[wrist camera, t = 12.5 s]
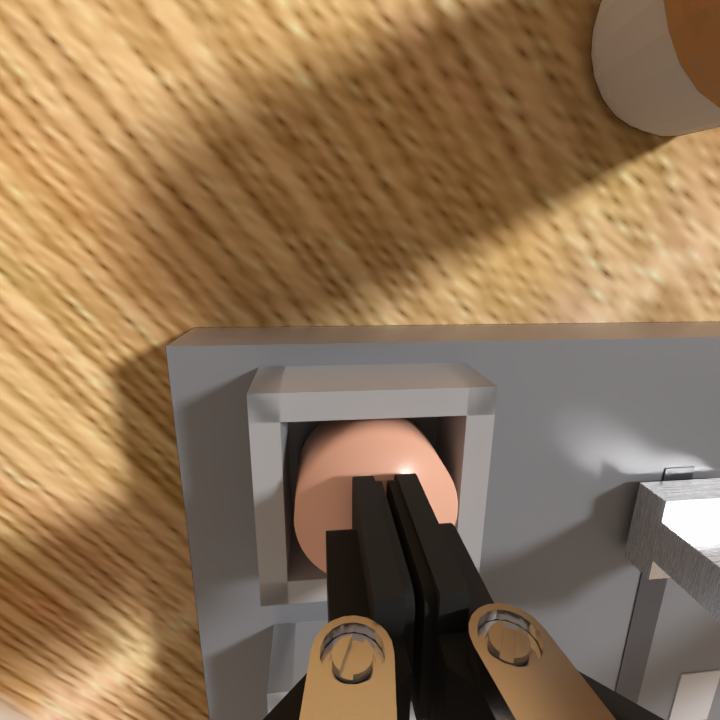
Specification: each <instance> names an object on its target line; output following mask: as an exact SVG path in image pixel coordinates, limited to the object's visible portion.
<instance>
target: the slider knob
mask: <svg viewBox="0 0 720 720" xmlns="http://www.w3.org/2000/svg"><path fill="white" fill-rule="evenodd" d="M624 556H625V557H626V558H627V559H628V560H629V561H630V562H631V563H632V564H633V565H634V566H635V567H636V568H637V569H638V570H639V571H640V572H641V573H642V574H643V575H644V576H645V577H646V578H647V579H648V580H651V579H662V578H672V579H673V580H674V581H675V582H676V583H677V584H678V585H680V586H681V587H682V588H683V589H684V590H685V591H686V592H687V593H688V594H689V595H690V596H691V597H693V598H694V599H695V600H696V601H697V602H698V603H699V604H700V605H701V606H702V607H703V608H705V609H706V610H707V611H708V612H709V613H710V614H711V615H712V616H713V617H714V618H715V619H717V620H718V621H719V622H720V478H710V479H693V480H676V481H658V482H641V483H639V488H638V493H637V497H636V502H635V507H634V512H633V517H632V521H631V526H630V531H629V536H628V541H627V545H626V550H625V555H624Z"/></svg>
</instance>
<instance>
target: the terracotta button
mask: <svg viewBox="0 0 720 720" xmlns="http://www.w3.org/2000/svg"><path fill="white" fill-rule="evenodd" d="M413 473H415V474H416V475H417V477H418V479H419V481H420V483H421V485H422V487H423V490H424V492H425V494H426V496H427V498H428V501H429V503H430V505H431V507H432V509H433V512H434V514H435V516H436V518H437V520H438V523H439V524H440V523H452V524H453V525H454V526H455V524H456V520H457V514H458V499H457V492H456V489H455V486H454V483H453V481H452V479H451V477H450V475H449V473H448V471H447V470H446V468H445V466H444V465H443V463H442V461H441V460H440V458H439V456H438V455H437V453H436V452H435V450H434V448H433V447H432V445H431V443H430V442H429V440H428V438H427V437H426V435H425V434H424V432H423V431H422V429H421V428H420V427H419V426H418V425H417V424H416V423H415V422H414V421H413V420H412V419H410V418H385V419H357V420H330V421H323V422H322V423H321V424H320V425H318V426H317V427H316V428H315V430H314V431H313V432H312V433H311V434H310V436H309V437H308V438H307V440H306V442H305V444H304V446H303V448H302V450H301V453H300V456H299V461H298V468H297V482H296V496H295V510H294V526H295V532H296V536H297V539H298V542H299V544H300V546H301V548H302V550H303V551H304V553H305V555H306V556H307V557H308V558H309V559H310V561H311V562H312V563H313V564H314V565H315V566H317V567H318V568H319V569H320V570H322V571H323V572H325V573H326V531H329V530H345V529H352V478H353V476H372V475H373V476H374V479H375V481H382V483H383V486H384V490H385V493H386V491H387V481H388V480H394V475H395V474H413Z"/></svg>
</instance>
